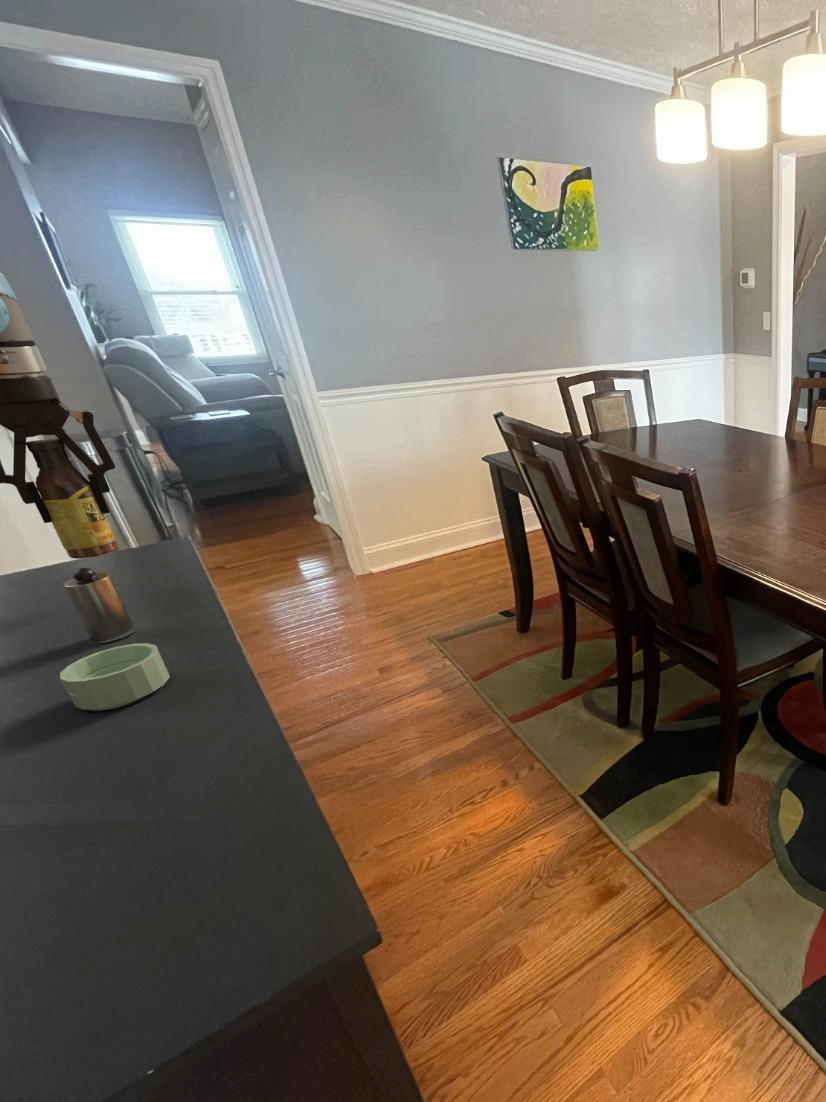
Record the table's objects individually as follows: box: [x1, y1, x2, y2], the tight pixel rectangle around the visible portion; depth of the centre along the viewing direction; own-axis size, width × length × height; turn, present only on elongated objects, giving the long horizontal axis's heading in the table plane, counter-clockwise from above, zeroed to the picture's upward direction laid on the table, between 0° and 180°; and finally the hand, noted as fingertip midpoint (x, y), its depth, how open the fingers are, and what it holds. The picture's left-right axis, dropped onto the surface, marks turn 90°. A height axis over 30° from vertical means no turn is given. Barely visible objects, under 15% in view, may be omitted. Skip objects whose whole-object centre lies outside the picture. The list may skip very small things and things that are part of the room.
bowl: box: [59, 642, 171, 712], centre depth 80 cm, size 9×9×5 cm
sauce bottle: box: [26, 438, 118, 560], centre depth 101 cm, size 6×6×20 cm
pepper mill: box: [62, 567, 134, 643], centre depth 93 cm, size 5×5×12 cm
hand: (77, 515), depth 102 cm, fingers closed on sauce bottle, 6 cm apart
